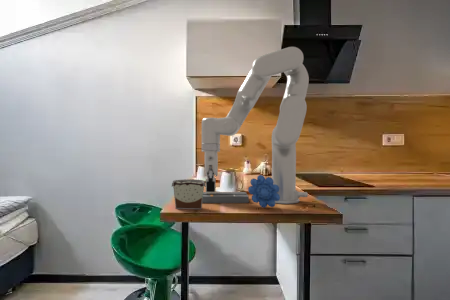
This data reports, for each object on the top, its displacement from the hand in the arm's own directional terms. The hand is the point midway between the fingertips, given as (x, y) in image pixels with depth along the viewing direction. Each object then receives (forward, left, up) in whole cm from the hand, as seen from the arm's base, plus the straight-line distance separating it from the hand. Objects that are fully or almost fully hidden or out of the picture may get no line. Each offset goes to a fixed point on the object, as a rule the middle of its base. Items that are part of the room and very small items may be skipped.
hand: (210, 189), depth 145 cm
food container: (+7, +15, -4) cm, 17 cm away
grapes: (-20, +17, -4) cm, 26 cm away
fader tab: (0, 0, -2) cm, 2 cm away
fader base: (-6, 0, -4) cm, 7 cm away
